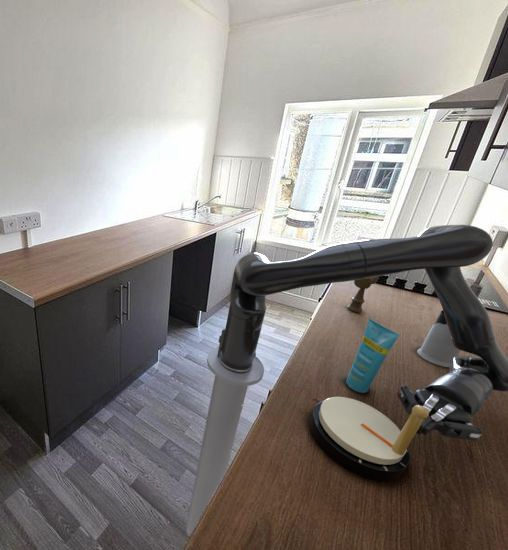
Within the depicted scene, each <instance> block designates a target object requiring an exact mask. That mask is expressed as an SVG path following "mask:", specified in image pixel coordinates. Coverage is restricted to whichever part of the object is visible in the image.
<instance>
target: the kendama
mask: <svg viewBox="0 0 508 550" xmlns="http://www.w3.org/2000/svg"><path fill="white" fill-rule="evenodd" d="M379 277H380V276H378V277H372V278H366V279H360V280H353V283H354V286H355V287H357V288H358V291H357V292H356V293H355V295H354V296H353V297H351V303H350V304H348V305H347V309H348V310H349V311H351V312H355V313H362V312H363V308H362V307H363V304H364V303H365V302H366V301H365V299H364V297H365V290H368V289H369V288H371V286H372V285H375V284H376V283H377V282H378V281H379V279H380V278H379Z"/></svg>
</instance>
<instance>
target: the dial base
mask: <svg viewBox="0 0 508 550" xmlns="http://www.w3.org/2000/svg"><path fill="white" fill-rule="evenodd" d="M325 400H326V399H324V400H322V401H319V402H317V404H316V405H314V407H313V410H312V412H311V415H310V418H309V429H310V433H311V435H312V437H313V439H314V441H315V442H316V443H317V445H318V447H320V449H321V451H323V452H324V453H325V454H326V455H327V456H328V457H329V458H330V459H331V460H333V462H335V463H336V464H338V465H339V466H341V467H342V468H344V470H347V471H349V472H350V473H352V474H354V475H357V476H359V477H361V478H365V479H367V480H372V481H375V482H382V483H383V482H393V481H395V480H398V479H399V478H401V476H402V475H403V474H404V472H405V470H406V469H407V467H408V465H409V463H410V461H411V460H410V459H411V455H410V450H409V447H408V448H407V451H406V453H405V455H404V457H403V458H402V460H401V461H399V462H398V463H395V464H391V465H383V464H377V463H373V462H370V461H367V460H364V459H362V458H360V457H357V456H355V455H354V454H352V453H350V452H349V451H347V450H346V449H344V448H343V447H341V446H340V445H339V444H338V443H336V442H335V441H334V440H333V439H332V438H331V437H330V436H329V435H328V433H327V432H326V431H325V429H324V428H323V426H322V424H321V422H320V419H319V409H320V407H321V404H322V403H323V401H325Z"/></svg>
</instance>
